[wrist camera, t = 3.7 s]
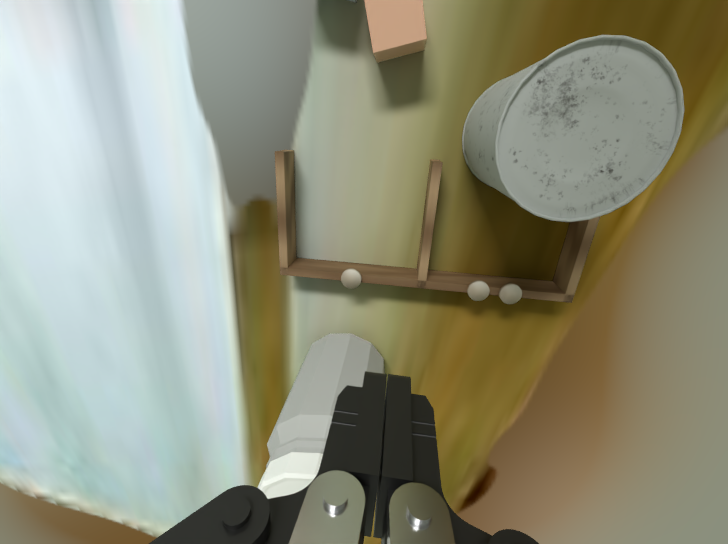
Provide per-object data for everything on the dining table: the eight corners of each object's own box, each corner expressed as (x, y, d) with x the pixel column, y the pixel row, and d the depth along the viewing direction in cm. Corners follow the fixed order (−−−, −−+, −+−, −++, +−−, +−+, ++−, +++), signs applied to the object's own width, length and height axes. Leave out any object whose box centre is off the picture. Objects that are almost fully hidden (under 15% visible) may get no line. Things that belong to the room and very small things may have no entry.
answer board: (285, 149, 33) (273, 151, 30) (595, 170, 30) (616, 174, 27) (289, 269, 37) (279, 281, 34) (557, 294, 35) (571, 310, 32)
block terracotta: (367, 7, 28) (362, -12, 24) (416, -7, 27) (418, -29, 23) (377, 62, 29) (373, 52, 26) (423, 50, 28) (426, 38, 25)
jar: (396, 384, 42) (391, 549, 25) (324, 399, 44) (276, 560, 28) (370, 318, 39) (345, 457, 22) (294, 338, 41) (219, 477, 24)
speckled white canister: (585, 68, 28) (710, 24, 16) (566, 187, 31) (657, 219, 20) (464, 78, 29) (503, 43, 18) (459, 192, 32) (488, 224, 21)
